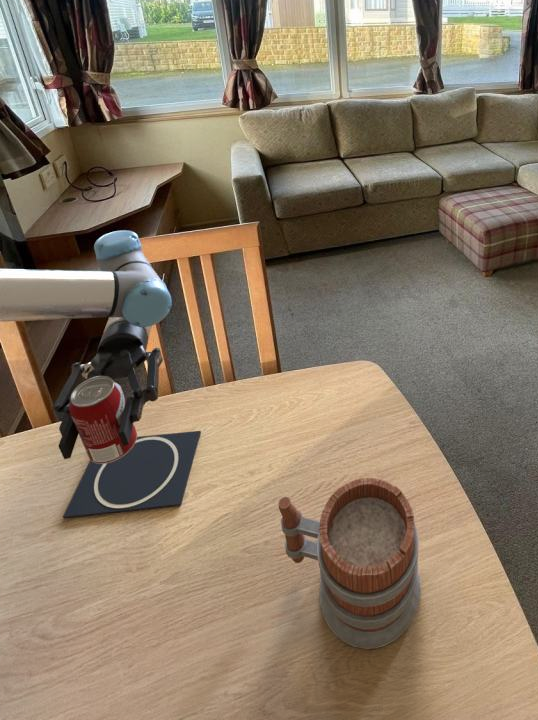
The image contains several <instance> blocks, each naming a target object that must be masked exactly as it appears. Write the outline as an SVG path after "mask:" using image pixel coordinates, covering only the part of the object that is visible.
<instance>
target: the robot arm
mask: <svg viewBox="0 0 538 720" xmlns="http://www.w3.org/2000/svg"><path fill="white" fill-rule="evenodd" d="M93 250H94V253H95V256H96V257H95V260H96V261H97V264H98V266H99V269H100V270H78V269H77V270H76V269H75V270H72V269H71V270H70V269H69V270H68V269H33V268H32V269H31V268H29V269H26V268H25V269H24V268H0V323H3V322H4V323H5V322H27V321H28V322H29V321H51V320H52V321H53V320H73V319H74V320H75V319H100V318H108V320H107V322H106V324H105V328H104V330H103V334H102V336H101V339H100V341H99V344H98V347H97V351H96V355H95V356H94V357H93V358H92V359H91V361H90V362H87V363H85V364H81V362H74V363H73V364H72V365H71V373H70V375H69V377H68V379H67V381H66V382H65V384H64V386H63V388H62V389H61V391H60V393H59V395H58V397H57V399H56V400H55V402H54V404H53V406H52V410H53V412H54V414H55V416H56V419H57V421H59V422H60V421H61V422H60V424H59V427H58V429H59V433H60V435H61V438H60V440H59V443H58V449H59V451H60V453H61V455H62V457H63V460H67V459H71V457H72V455H73V451H74V448H75V445H76V444H77V443H76V442H77V440H78V436H79V433H78V431H77V428H76V426H75V424H74V421H73V419H72V416H71V414H70V411H69V407H70V403H71V394H72V392H73V391H74V389H75V388H76V387H77V386H78V385H80V384H81V383H83V382H84V381H85V380H88V379H90V378H93V377H97V376H108V377H110V378H112V379H113V380H116V379H124V378H127V380H128V383H129V386H130V390H131V393H132V396H128V397H126V398H125V400H126V404H125V408H124V412H123V416H122V420H121V424H120V428H119V432H118V434H119V436H120V439H121V442H122V445H123V446H125V445H129V441H130V437H131V432H132V428H133V423H136V422H139V421H140V420H141V419H142V415H143V410H144V407H145V406H144V405H146V403H148V402H155V401H157V400H158V399H159V377H160V366H161V365H162V363H163V361H164V359H163V356H162V351H161V348H160V347H155V348H153V349H152V350H151V351H147V348H148V344H149V339H150V334H151V331H152V326H154V325H157V324H159V323H160V322H161V321H163V320H164V319H165V318H166V317H167V316H168V314H169V313H170V311H171V308H172V301H173V300H172V296H171V294H170V292H169V290H168V288H167V285H166V283H165V282H164V281H163V280H162V279H161V278H160V277H159V275H158V273H157V272H156V271H155V269H154V268H153V266H152V265H151V263H150V261H149V260H148V258H147V257H146V255H145V253H144V251H143V245H142V243H141V241H140V237H139V236H138V234H137V233H136V232H134V231H132V230H125V229H124V230H116V231H112V232H109V233H105V234H103V235H102V236H100V237H98V239H96V241H95V243H94V245H93ZM145 362H146V364H147V372H146V385H145V386H146V387H145V389H143V390H142V389H141V386H140V382H139V379H138V376H137V374H136V370H137V369H139V368H140V367H141V366H142V365H143V364H144V363H145ZM90 372H91V373H90ZM89 374H90V376H89V378H88V375H89Z"/></svg>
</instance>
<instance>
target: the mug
mask: <svg viewBox="0 0 538 720" xmlns="http://www.w3.org/2000/svg"><path fill="white" fill-rule="evenodd" d="M277 506H278V510H279V511H280V515H281V519H280V525H281V531H282V533H283V534H284V537H285V538H284V539H285V542H284V550H285V554H286V555H287V557H288V558H290V559H291V560H292V561H293V562H294V563H295V564H300V563H302V562H303V561H304V559H305V558H308V559H311V560H315V561H318V567H319V575H320V577H319V578H320V580H319V588H318V589H319V590H318V591H319V592H318V595H319V606H320V608H321V612H322V616H323V618H324V620H325V622H326V624H327V626H328V627H329V628H330V630H331V631H332V633H334V635H335V636H337V637H338V638H339V639H340V640H341V641H342V642H344V643H346V644H348V645H350V646H352V647H354V648H360V649H364V650H367V649H378V648H381V647H384V646H388V645H389V644H391V643H392V642H394V641H396V640H398V638H400V636H402V634H404V633H405V632H406V631H407V629H408V628H409V626H410V625H411V624H412V622H413V620H414V618H415V615H416V614H417V612H418V608H419V604H420V600H421V589H422V588H421V577H420V574H419V564H418V559H419V558H418V557H419V533H418V529H417V525H416V522H415V516H414V512H413V508H412V506H411V504H410V502H409V500H408V498H407V497H406V495H404V494H403V491H402V490H401V489H400V488H399V487H398V486H396V485H393V484H391V483H389V482H388V481H385V480H382V479H378V478H374V477H363V478H358V479H355V480H352V481H350V482H347V483H346V484H344V485H342V486H341V487H338V488H337V489H336V490H335V491H334V492H333V493H332V494H331V495H330V497H329V498H328V500H327V501H326V503H325V506H324V507H323V508H322V512H321V516H320V519H319V520H316V519H312V518H309V517H306V516H303V513H302V512H301V510H299V509H297V508H296V505H295V503H294V504H293V502H291V499H290V498H289V497H288V496H283V497H281V498H280V499H279V501H278V505H277ZM306 537H310V538H314V539H317V541H314V540H312V539H307V538H306Z"/></svg>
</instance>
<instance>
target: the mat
mask: <svg viewBox="0 0 538 720" xmlns="http://www.w3.org/2000/svg"><path fill="white" fill-rule="evenodd" d="M201 433H202V431H201V430H194V431H183V432H182V431H181V432H173V433H163V434H151V435H142V436H141V435H140V436H137V439H136V442H135V444H134V446H133V447H132V449H131V450H130V451H129V452H128V453H127V454H126V455H124V456H123V457H121V458H120V459H118V460H116V461H113V462H110V463H106V464H97V463H94V462H92V461H91V460H90V459H89V462H88V464H87V466H86V468H85V470H84V473H83V474H82V476H81V478H80V481H79V482H78V484H77V487H76V489H75V490H74V493H73V494H72V497H71V499H70V502H69V503H68V506H67V508H66V510H65V511H64V514H63V515H62V519H64V520H65V519H72V518H81V517H82V518H83V517H90V516H99V515H101V516H102V515H108V514H119V513H127V512H128V513H129V512H135V511H146V510H153V509H155V510H156V509H163V508H172V507H181V506H182V503H183V499H184V496H185V492H186V488H187V484H188V480H189V477H190V475H191V471H192V467H193V462H194V460H195V455H196V453H197V452H196V451H197V448H198V444H199V440H200V438H201Z"/></svg>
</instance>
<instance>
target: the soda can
mask: <svg viewBox="0 0 538 720" xmlns="http://www.w3.org/2000/svg"><path fill="white" fill-rule="evenodd" d="M89 378H90V377H89ZM89 378H87V379H85V380H84V382H83V383H81V384H80V385H78V386H77V387H76V388H75V389H74V391H73V392H72V394H71V403H70V407H69V411H70V414H71V416H72V419H73V421H74V424H75V426H76V428H77V431H78V433H79V434H78V436H79V438H80V440H81V442H82V445H83V447H84V449H85V452H86V454H87V457H88V459H89V461H90V460H91V461H92V462H94V463H97V464H106V463H110V462H113V461H116V460H118V459H120V458H121V457H123V456H124V455H126V454H127V453H128V452H129V451H130V450H131V449H132V447H133V446H134V444H135V442H136V439H137V437H138V433H137V429H136V427H135V424H134V423H135V422H134V423H133V428H132V432H131V437H130V441H129V445H125V446H123V445H122V442H121V439H120V436H119V434H118V432H119V428H120V424H121V420H122V416H123V412H124V408H125V404H126V398H125V395H124V391H123V389H122V386H121V385H120V384H119V383H117V382H115V381H114V379H112V378H110V377H108V376H97V377H93V378H90V379H89Z"/></svg>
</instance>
